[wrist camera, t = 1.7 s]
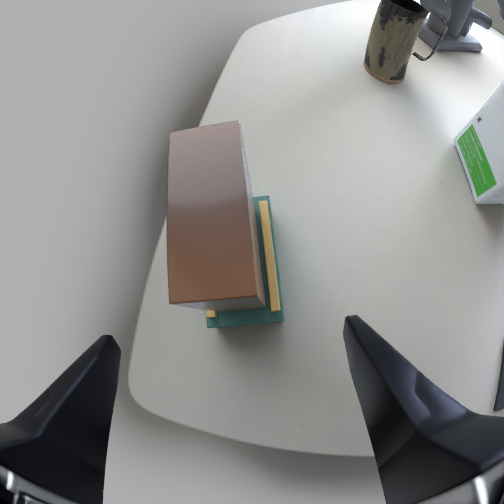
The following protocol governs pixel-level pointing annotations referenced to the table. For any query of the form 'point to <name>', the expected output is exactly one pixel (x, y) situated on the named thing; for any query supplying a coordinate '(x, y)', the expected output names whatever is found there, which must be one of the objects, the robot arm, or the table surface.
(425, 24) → the faucet
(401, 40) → the mug
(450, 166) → the table surface
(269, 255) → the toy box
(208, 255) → the block
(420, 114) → the table surface
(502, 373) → the mat
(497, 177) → the cosmetic box
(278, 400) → the table surface
